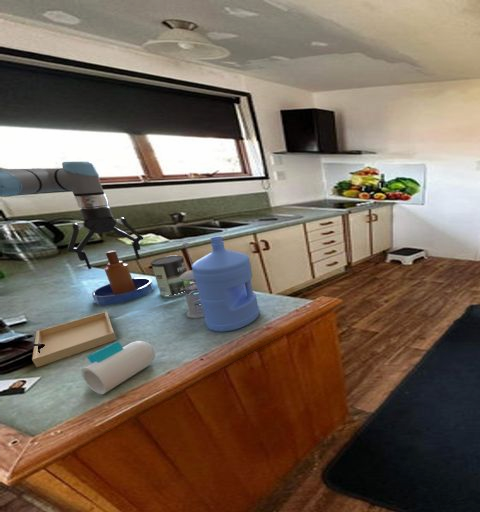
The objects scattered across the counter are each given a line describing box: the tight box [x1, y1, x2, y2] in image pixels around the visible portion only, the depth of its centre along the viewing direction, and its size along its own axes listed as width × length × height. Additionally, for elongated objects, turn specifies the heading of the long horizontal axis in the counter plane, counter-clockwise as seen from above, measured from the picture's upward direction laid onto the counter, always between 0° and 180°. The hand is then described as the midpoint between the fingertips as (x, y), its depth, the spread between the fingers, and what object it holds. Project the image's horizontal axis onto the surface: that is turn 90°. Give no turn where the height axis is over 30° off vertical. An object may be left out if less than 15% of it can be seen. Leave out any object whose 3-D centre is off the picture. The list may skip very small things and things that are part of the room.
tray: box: [31, 310, 118, 368], centre depth 81 cm, size 15×19×2 cm
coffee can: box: [150, 255, 191, 298], centre depth 108 cm, size 10×10×14 cm
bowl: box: [91, 277, 155, 306], centre depth 107 cm, size 17×17×4 cm
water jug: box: [191, 236, 260, 332], centre depth 85 cm, size 16×16×28 cm
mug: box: [80, 340, 156, 395], centre depth 66 cm, size 12×9×12 cm
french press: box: [180, 242, 205, 319], centre depth 93 cm, size 10×12×25 cm
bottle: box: [104, 250, 136, 295], centre depth 105 cm, size 6×6×18 cm
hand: (115, 263), depth 103 cm, fingers open, 13 cm apart
